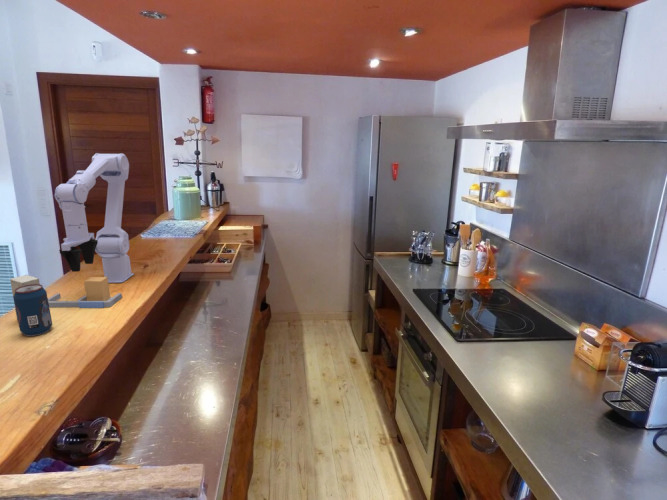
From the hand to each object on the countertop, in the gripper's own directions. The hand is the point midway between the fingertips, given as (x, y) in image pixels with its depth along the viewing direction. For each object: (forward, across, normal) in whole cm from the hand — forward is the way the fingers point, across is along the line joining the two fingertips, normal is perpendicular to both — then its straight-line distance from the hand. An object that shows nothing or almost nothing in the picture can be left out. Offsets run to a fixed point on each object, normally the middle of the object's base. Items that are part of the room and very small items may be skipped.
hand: (82, 267), depth 128 cm
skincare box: (+10, +16, -7) cm, 20 cm away
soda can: (+10, +23, -1) cm, 26 cm away
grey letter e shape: (+10, +3, +1) cm, 11 cm away
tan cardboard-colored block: (+10, +3, +5) cm, 11 cm away
